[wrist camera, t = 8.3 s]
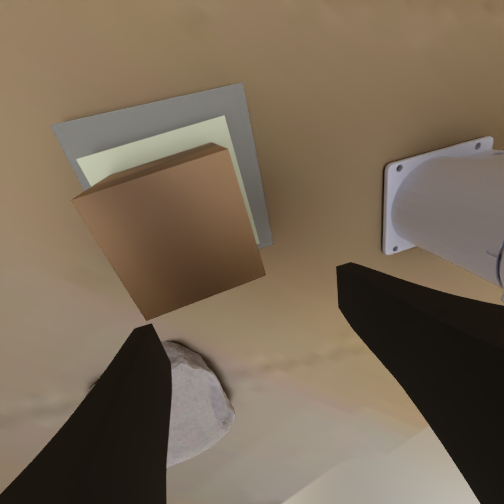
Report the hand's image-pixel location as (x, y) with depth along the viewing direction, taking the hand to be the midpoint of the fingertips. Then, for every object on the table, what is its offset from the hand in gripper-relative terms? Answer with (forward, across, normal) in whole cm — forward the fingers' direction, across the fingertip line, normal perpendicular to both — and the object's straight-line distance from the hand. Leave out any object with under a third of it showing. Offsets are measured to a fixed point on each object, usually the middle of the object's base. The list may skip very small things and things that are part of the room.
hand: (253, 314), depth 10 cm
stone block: (+11, +8, +15) cm, 20 cm away
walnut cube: (+6, +2, -3) cm, 7 cm away
